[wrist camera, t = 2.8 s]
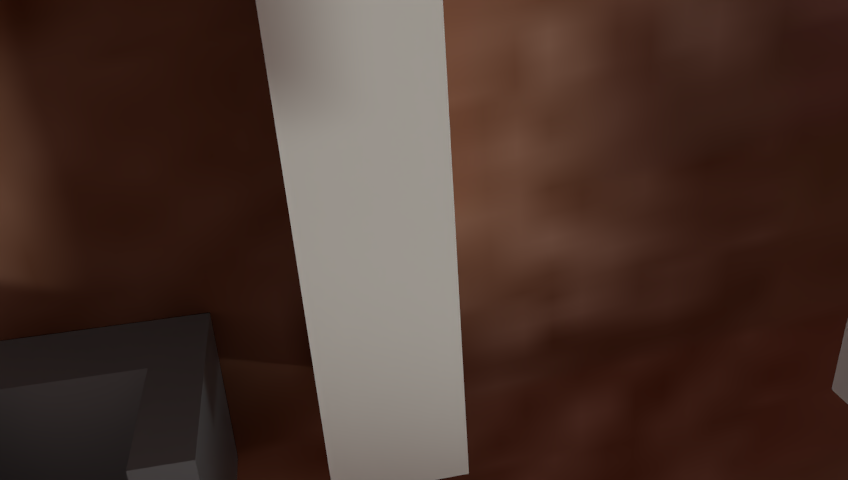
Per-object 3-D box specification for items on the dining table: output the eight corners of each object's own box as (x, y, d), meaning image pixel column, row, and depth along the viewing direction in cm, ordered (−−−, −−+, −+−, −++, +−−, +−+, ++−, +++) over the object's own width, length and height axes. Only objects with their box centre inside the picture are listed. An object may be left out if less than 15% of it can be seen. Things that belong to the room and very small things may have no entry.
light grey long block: (425, 346, 26) (469, 473, 21) (317, 364, 25) (333, 499, 20) (379, -221, 19) (428, -251, 14) (228, -211, 18) (218, -238, 13)
